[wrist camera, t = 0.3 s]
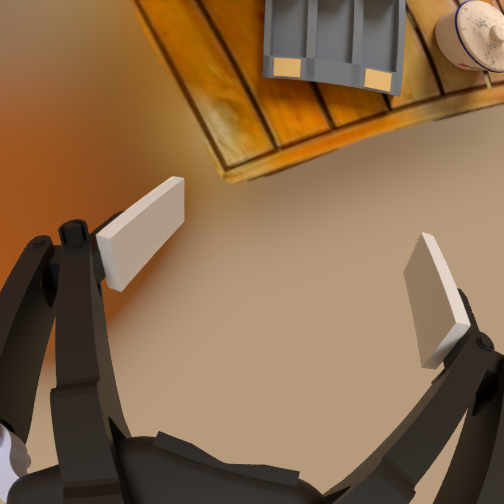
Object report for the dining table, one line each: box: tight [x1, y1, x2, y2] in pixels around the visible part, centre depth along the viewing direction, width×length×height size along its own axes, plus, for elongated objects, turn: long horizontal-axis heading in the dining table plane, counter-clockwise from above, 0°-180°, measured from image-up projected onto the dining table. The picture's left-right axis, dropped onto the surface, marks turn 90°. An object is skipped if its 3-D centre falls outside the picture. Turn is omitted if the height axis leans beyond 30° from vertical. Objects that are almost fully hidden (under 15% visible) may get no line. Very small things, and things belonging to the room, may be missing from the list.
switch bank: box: [262, 0, 405, 97], centre depth 25 cm, size 22×17×4 cm
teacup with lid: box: [435, 0, 504, 73], centre depth 18 cm, size 12×9×12 cm
